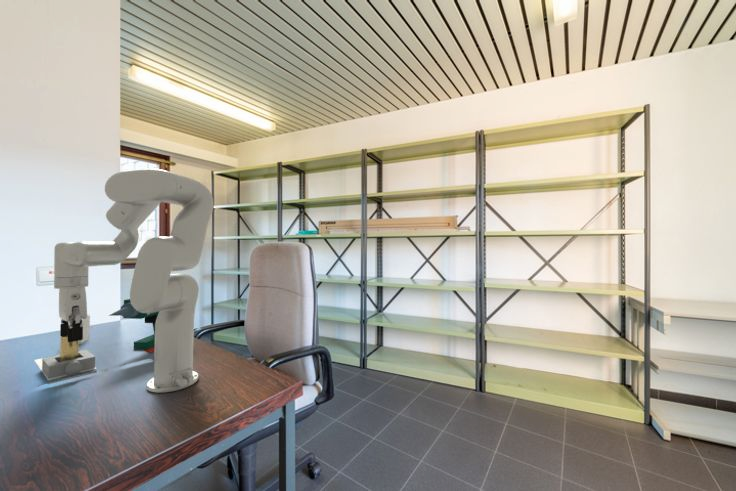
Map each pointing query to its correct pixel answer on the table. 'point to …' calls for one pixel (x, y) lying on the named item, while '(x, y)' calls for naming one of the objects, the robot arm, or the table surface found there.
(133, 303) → the robot arm
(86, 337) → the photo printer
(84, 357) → the grey slotted block
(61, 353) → the tan rectangular block
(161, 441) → the table surface
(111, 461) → the table surface
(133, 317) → the power tool
